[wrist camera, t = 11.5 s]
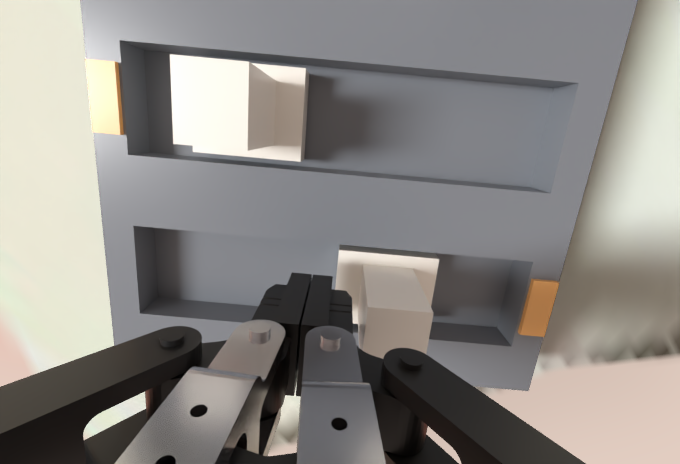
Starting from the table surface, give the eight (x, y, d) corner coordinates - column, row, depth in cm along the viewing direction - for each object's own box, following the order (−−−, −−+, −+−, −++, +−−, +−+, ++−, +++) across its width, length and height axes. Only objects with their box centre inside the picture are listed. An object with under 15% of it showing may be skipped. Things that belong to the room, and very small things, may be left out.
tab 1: (309, 73, 13) (289, 43, 9) (304, 159, 14) (283, 172, 10) (203, 63, 13) (128, 28, 9) (205, 150, 14) (137, 159, 10)
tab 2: (432, 249, 15) (469, 300, 11) (421, 315, 16) (450, 390, 11) (339, 241, 15) (336, 288, 11) (333, 308, 16) (327, 379, 11)
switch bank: (625, -164, 13) (715, -259, 9) (499, 350, 18) (530, 394, 15) (117, -213, 12) (42, -325, 9) (151, 319, 18) (112, 357, 15)
